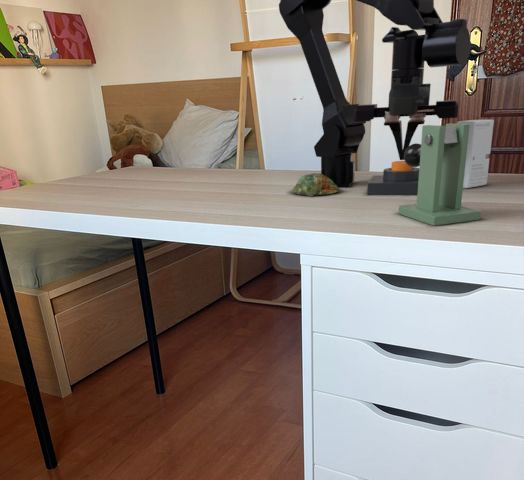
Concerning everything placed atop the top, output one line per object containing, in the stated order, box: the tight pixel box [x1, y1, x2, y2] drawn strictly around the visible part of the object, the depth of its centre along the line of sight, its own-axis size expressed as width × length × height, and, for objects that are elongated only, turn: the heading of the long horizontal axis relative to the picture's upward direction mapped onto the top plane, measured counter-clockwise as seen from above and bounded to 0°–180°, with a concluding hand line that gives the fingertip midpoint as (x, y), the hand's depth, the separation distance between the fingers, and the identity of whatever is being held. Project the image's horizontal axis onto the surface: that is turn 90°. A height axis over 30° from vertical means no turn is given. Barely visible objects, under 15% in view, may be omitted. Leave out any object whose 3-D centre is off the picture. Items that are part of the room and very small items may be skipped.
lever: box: [403, 126, 458, 168], centre depth 82 cm, size 11×4×4 cm, turn 18°
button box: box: [366, 167, 419, 196], centre depth 104 cm, size 12×10×4 cm
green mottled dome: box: [291, 173, 340, 197], centre depth 107 cm, size 10×4×10 cm
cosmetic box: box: [456, 119, 495, 189], centre depth 103 cm, size 6×4×12 cm
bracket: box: [398, 122, 482, 227], centre depth 80 cm, size 10×8×13 cm
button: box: [390, 160, 412, 171], centre depth 103 cm, size 4×4×2 cm
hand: (402, 159), depth 103 cm, fingers closed
